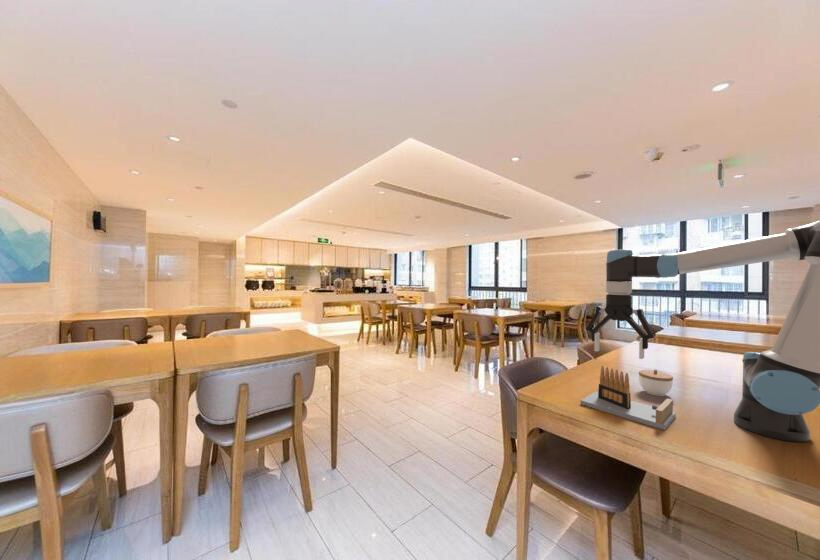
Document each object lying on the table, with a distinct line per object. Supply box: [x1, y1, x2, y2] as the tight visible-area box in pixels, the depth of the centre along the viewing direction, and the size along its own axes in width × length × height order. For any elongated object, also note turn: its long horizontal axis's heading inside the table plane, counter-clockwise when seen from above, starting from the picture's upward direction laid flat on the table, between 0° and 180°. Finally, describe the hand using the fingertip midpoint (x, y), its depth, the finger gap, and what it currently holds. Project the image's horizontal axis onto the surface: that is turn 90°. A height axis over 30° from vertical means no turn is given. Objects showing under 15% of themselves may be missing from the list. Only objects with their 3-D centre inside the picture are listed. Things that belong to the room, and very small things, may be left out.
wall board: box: [580, 391, 676, 431], centre depth 107 cm, size 24×14×6 cm, turn 39°
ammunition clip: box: [597, 365, 632, 409], centre depth 110 cm, size 11×2×12 cm, turn 21°
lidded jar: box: [638, 369, 674, 397], centre depth 124 cm, size 11×11×9 cm
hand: (618, 354), depth 110 cm, fingers open, 13 cm apart
